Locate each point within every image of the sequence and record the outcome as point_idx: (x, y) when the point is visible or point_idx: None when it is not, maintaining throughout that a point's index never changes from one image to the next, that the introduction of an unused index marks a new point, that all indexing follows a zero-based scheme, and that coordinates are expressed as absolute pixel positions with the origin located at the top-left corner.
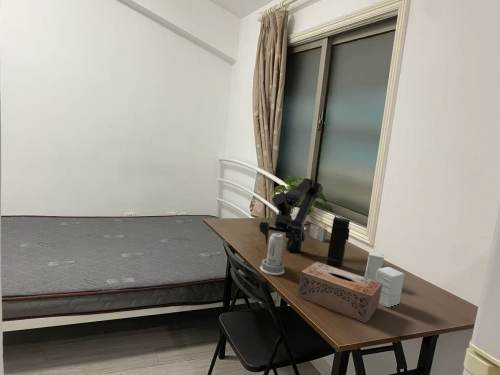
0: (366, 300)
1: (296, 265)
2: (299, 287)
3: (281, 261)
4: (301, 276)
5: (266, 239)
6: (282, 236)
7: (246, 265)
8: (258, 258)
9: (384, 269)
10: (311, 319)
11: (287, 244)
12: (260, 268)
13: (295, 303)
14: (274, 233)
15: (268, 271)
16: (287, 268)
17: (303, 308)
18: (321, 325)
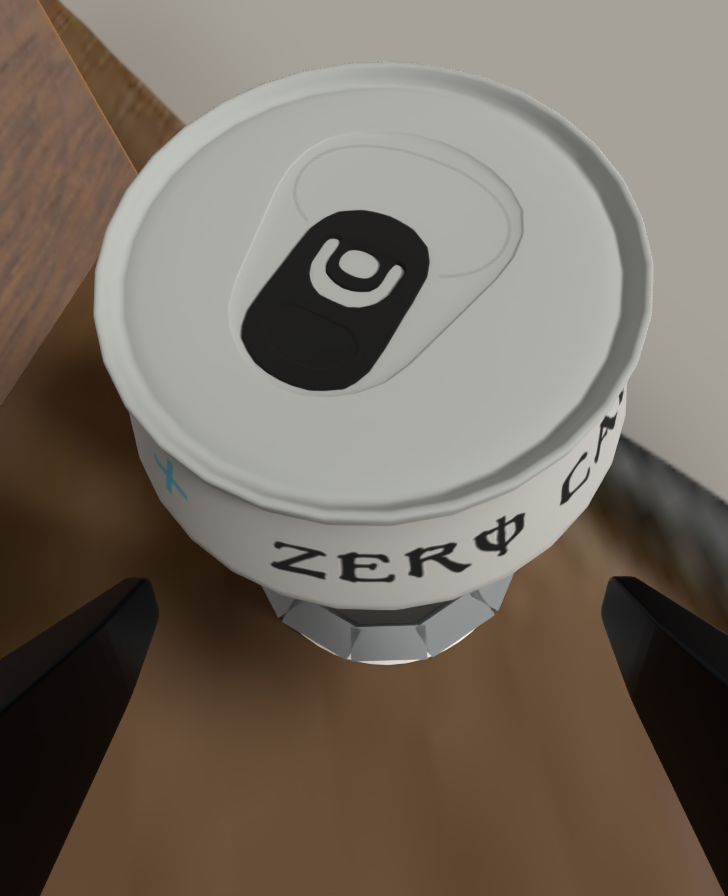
0: None
1: (121, 846)
2: (104, 123)
3: (290, 615)
4: (38, 12)
5: (726, 653)
6: (118, 223)
7: (657, 503)
8: (638, 826)
9: None
10: (87, 27)
11: (92, 629)
12: None
13: (160, 111)
14: (560, 425)
15: None
16: (231, 665)
17: (118, 88)
18: (46, 9)
